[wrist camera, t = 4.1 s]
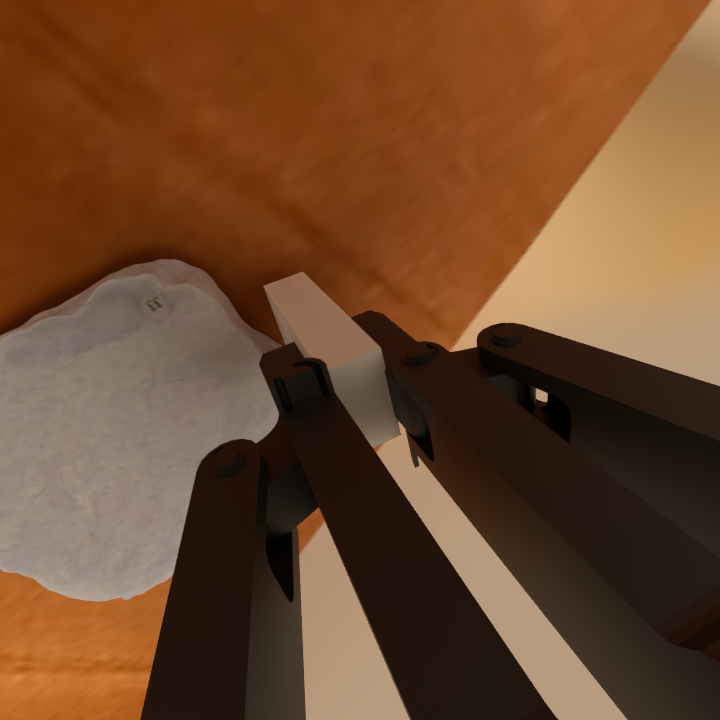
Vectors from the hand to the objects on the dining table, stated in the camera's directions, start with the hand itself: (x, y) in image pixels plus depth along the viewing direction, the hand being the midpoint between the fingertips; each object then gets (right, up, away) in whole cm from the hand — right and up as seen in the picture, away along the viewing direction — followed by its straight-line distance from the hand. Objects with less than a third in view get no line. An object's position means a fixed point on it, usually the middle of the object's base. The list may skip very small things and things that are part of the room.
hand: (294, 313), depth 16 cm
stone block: (-7, -3, +1) cm, 7 cm away
